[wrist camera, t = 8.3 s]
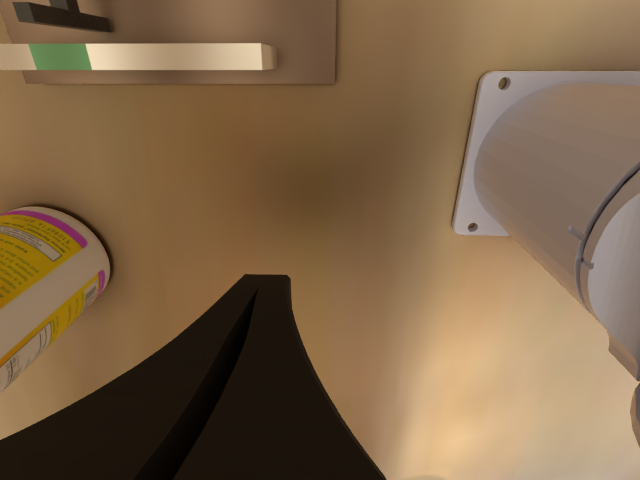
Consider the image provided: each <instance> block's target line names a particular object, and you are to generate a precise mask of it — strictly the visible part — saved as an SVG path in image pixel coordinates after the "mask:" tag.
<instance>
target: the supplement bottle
mask: <svg viewBox="0 0 640 480" xmlns="http://www.w3.org/2000/svg"><path fill="white" fill-rule="evenodd" d="M109 276H110V263H109V259H108V256H107V253H106V251H105V249H104V247H103V246H102V244H101V242H100V241H99V240H98V238H97V237H96V236H95V235H94V233H93V232H92V231H91V230H90V229H88V228H87V227H86V226H85V225H84V224H82V223H81V222H80V221H78V220H76V219H75V218H73V217H71V216H69V215H67V214H65V213H63V212H60V211H57V210H54V209H50V208H45V207H34V206H32V207H22V208H18V209H14V210H11V211H9V212H6V213H4V214H2V215H0V394H1V393H2V392H3V391H4V390H5V389H6V388H7V387H8V386H9V385H10V384H11V383H12V382H13V381H14V380H15V379H16V378H17V377H18V376H19V375H20V374H21V373H22V372H23V371H24V370H25V369H26V368H27V367H28V366H29V365H30V364H31V363H32V362H33V361H34V360H35V359H36V358H37V357H38V356H39V355H40V354H41V353H42V352H43V351H44V350H45V349H46V348H47V347H48V346H49V345H50V344H51V343H52V342H53V341H54V340H55V339H56V338H57V337H58V336H59V335H60V334H62V332H63V331H64V330H65V329H66V328H67V327H68V326H69V325H70V324H71V323H72V322H73V321H74V320H75V319H76V318H77V317H79V316H80V315H81V313H82V312H83V311H84V310H85V309H86V308H87V307H89V306H90V304H91V303H93V302H94V301H95V299H96V298H97V297H98V296H99V295H100V294H101V293H102V292H103V290H104V289H105V287H106V285H107V283H108V280H109Z"/></svg>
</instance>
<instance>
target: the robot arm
mask: <svg viewBox="0 0 640 480" xmlns="http://www.w3.org/2000/svg"><path fill="white" fill-rule="evenodd" d="M504 77H505V78H506V80H507V84H506V86H505V87H504V88H503V89H500V88H499V86H498V84H499V81H500V80H501V79H502V78H504ZM471 223H475V226H474V227H473V228H471V229H468V226H469V225H470V224H471ZM452 228H453V230H454V232H455V233H456V234H458V235H480V236H512V237H513V238H514V239H515V240H516V241H517V242H518V243H519V244H520V245H521V246H522V247H523V248H524V249H525V250H526V251H527V252H528V253H529V254H530V255H531V256H532V257H533V258H534V259H535V260H536V261H537V262H538V263H539V264H540V265H541V266H543V267H544V268H545V269H546V270H547V271H548V272H549V273H550V274H551V275H552V276H553V277H554V278H555V279H556V280H557V281H558V282H559V283H560V284H561V285H562V286H563V287H564V288H565V289H566V290H567V291H568V292H569V293H570V294H571V295H572V296H573V297H574V298H575V299H576V300H577V301H578V302H579V303H580V304H581V305H582V306H583V307H585V308H586V309H587V310H588V311H589V312H590V313H591V314H592V315H593V316H594V317H595V318H596V319H597V320H598V321H599V323H600V324H601V325H602V326H603V327H604V328H605V329H606V331H607V333H608V335H609V341H610V342H609V352H610V353H611V354H612V355H613V356H614V357H615V358H616V359H617V360H618V361H619V362H620V363H621V364H622V365H623V366H624V367H625V368H626V369H627V370H628V371H629V373H630V374H631V375H632V376H633V377H634V378H635V379H636V380H637V381H640V71H490V72H487V73H486V74H484V75H483V76H482V77H481V79H480V81H479V85H478V90H477V95H476V100H475V106H474V111H473V116H472V121H471V127H470V132H469V137H468V143H467V148H466V153H465V158H464V164H463V169H462V174H461V179H460V185H459V190H458V195H457V201H456V206H455V211H454V216H453V222H452ZM630 414H631V421H632V428H633V431H634V434H635V437H636V440H637V442H638V445H639V447H640V383H639V385H638V386H637V387H636V389H635V391H634V394H633V397H632V402H631V409H630ZM0 480H386V478H385V476H384V475H383V473H382V472H381V471H380V470H379V468H378V467H377V466H376V464H375V463H374V462H373V461H372V459H371V458H370V457H369V455H368V454H367V453H366V451H365V450H364V449H363V447H362V446H361V445H360V443H359V442H358V440H357V439H356V438H355V436H354V435H353V433H352V432H351V430H350V429H349V427H348V426H347V424H346V423H345V421H344V420H343V419H342V417H341V415H340V414H339V412H338V410H337V409H336V407H335V405H334V404H333V402H332V400H331V399H330V397H329V395H328V394H327V392H326V390H325V389H324V387H323V385H322V383H321V381H320V379H319V378H318V376H317V374H316V372H315V370H314V368H313V366H312V363H311V361H310V359H309V357H308V355H307V352H306V350H305V348H304V345H303V343H302V340H301V337H300V334H299V332H298V329H297V325H296V322H295V319H294V315H293V311H292V301H291V279H290V278H289V277H288V276H287V275H254V274H245V275H244V276H243V277H242V278H241V279H240V280H239V281H237V282H236V283H235V284H234V285H233V286H232V287H231V288H230V289H229V290H228V291H227V292H226V293H225V294H224V295H223V296H222V297H221V298H220V299H219V300H218V301H217V302H216V303H215V304H214V305H213V306H212V307H210V308H209V309H208V310H207V311H206V312H205V313H204V314H203V315H202V316H201V317H200V318H198V319H197V320H196V321H195V322H194V323H192V324H191V325H190V326H189V327H188V328H187V329H185V330H184V331H183V332H182V333H181V334H179V335H178V336H177V337H176V338H174V339H173V340H172V341H171V342H169V343H168V344H167V345H165V346H164V347H163V348H161V349H160V350H158V351H157V352H156V353H154V354H153V355H151V356H150V357H148V358H147V359H146V360H144V361H143V362H141V363H140V364H138V365H137V366H135V367H134V368H132V369H131V370H129V371H127V372H126V373H124V374H122V375H121V376H119V377H117V378H116V379H114V380H113V381H111V382H109V383H108V384H106V385H104V386H103V387H101V388H100V389H98V390H96V391H95V392H93V393H91V394H89V395H88V396H86V397H84V398H82V399H80V400H79V401H77V402H75V403H73V404H71V405H70V406H68V407H66V408H64V409H62V410H60V411H58V412H56V413H54V414H53V415H51V416H49V417H47V418H45V419H43V420H41V421H39V422H37V423H35V424H33V425H31V426H29V427H27V428H25V429H23V430H21V431H19V432H17V433H15V434H12V435H10V436H8V437H6V438H4V439H2V440H0Z"/></svg>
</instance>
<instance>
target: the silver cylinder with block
mask: <svg viewBox="0 0 640 480" xmlns="http://www.w3.org/2000/svg"><path fill="white" fill-rule="evenodd" d="M49 2H50V6H46V5H41V4H36V3H31V2H12V3H13V6H14V9H15V12H16V15H17V18H18V21H19V22H25V23H33V24H40V25H48V26H55V27H63V28H70V29H78V30H85V31H93V32H111V29H110V24H109V20H108V18H105V17H100V16H95V15H90V14H85V13H80V10H79V6H78V2H77V0H49Z"/></svg>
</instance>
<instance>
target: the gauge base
mask: <svg viewBox="0 0 640 480" xmlns="http://www.w3.org/2000/svg"><path fill="white" fill-rule="evenodd" d="M12 2H31V3H36V4H41V5H46V6H50V2H49V0H0V11H1V14H2V16H3V19H4V22H5V25H6V28H7V31H8V33H9V36H10V39H11V42H12V44H0V70H22V73H23V76H24V79H25V82H26V84H335V52H336V0H77V2H78V6H79V10H80V13H85V14H90V15H95V16H100V17H105V18H108V20H109V24H110V29H111V32H93V31H85V30H78V29H70V28H63V27H55V26H48V25H40V24H33V23H25V22H19V21H18V18H17V15H16V12H15V9H14V6H13V3H12Z"/></svg>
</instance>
